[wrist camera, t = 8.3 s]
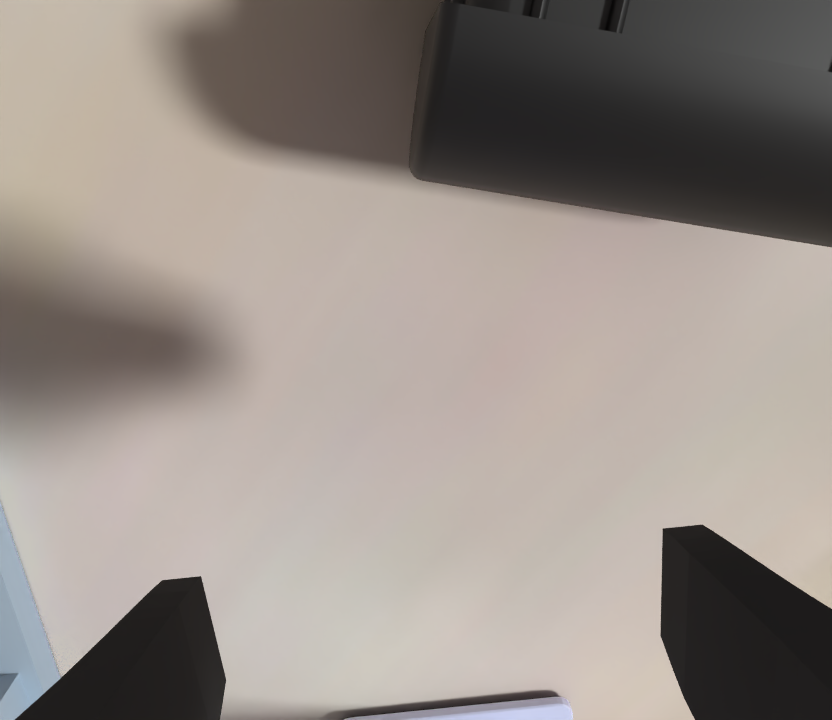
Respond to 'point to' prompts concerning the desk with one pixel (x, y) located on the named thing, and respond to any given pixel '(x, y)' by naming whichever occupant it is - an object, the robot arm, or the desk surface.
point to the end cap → (636, 108)
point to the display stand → (20, 636)
